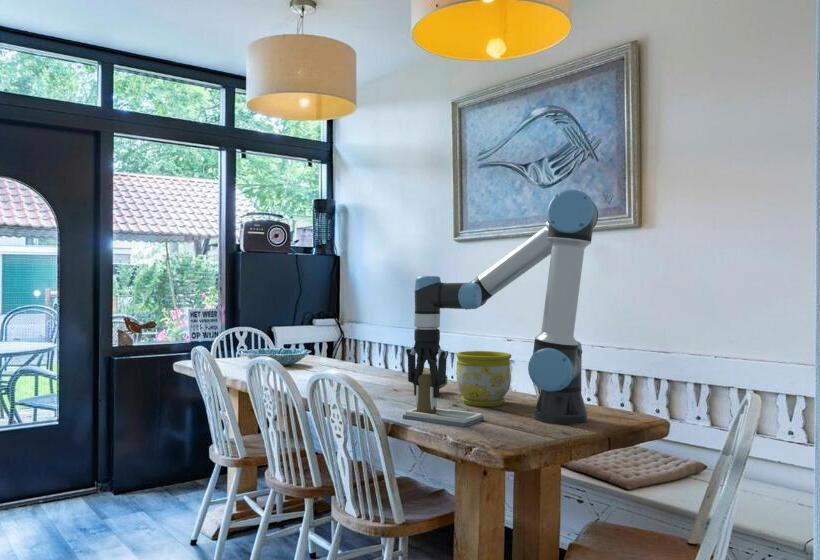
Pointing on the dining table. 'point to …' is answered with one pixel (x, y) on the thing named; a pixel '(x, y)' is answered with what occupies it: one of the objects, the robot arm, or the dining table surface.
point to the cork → (425, 395)
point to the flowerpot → (483, 377)
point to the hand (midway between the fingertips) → (426, 407)
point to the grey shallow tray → (446, 417)
